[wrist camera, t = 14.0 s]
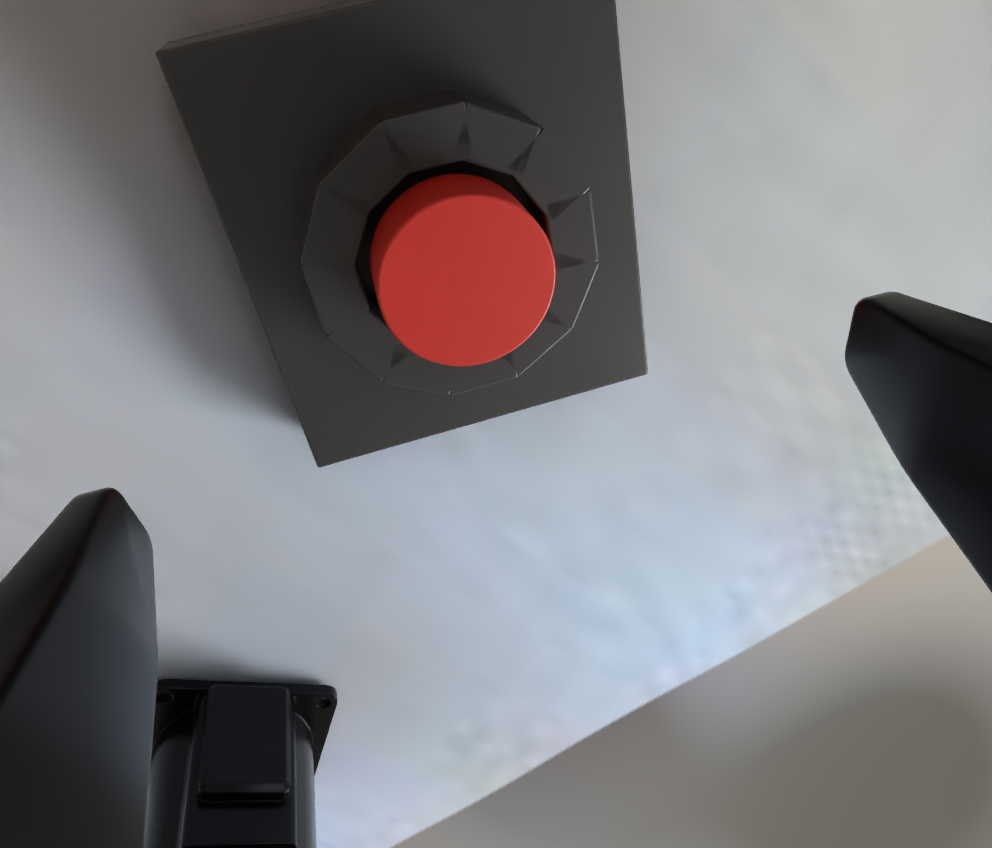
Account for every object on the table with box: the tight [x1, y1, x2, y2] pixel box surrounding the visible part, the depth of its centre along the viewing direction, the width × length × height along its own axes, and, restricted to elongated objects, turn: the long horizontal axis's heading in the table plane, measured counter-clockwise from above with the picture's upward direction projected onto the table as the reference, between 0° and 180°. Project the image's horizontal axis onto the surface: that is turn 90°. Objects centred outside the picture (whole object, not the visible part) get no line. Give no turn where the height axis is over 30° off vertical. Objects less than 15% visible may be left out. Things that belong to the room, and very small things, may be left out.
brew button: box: [370, 174, 556, 366], centre depth 18 cm, size 4×4×2 cm
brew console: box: [156, 0, 648, 467], centre depth 20 cm, size 11×10×4 cm
